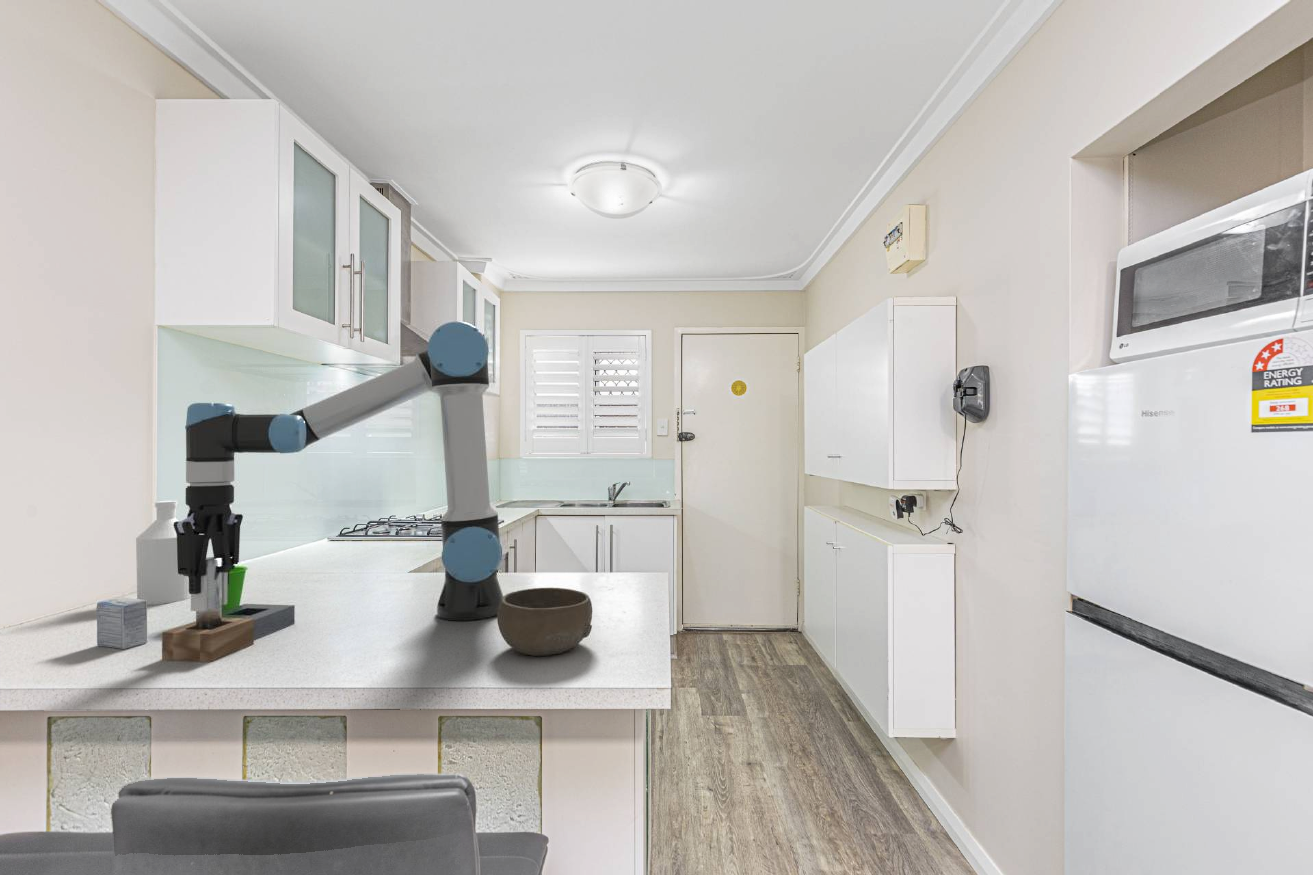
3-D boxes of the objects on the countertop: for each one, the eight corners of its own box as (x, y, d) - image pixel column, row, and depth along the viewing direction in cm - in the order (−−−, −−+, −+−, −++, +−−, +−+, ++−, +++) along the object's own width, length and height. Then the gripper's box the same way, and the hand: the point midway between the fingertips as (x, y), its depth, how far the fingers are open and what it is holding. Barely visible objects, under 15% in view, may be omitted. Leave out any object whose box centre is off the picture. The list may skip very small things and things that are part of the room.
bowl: (610, 647, 119) (609, 595, 119) (531, 671, 106) (531, 613, 107) (556, 629, 131) (556, 581, 131) (480, 649, 119) (480, 596, 119)
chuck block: (294, 623, 136) (294, 605, 136) (252, 640, 124) (252, 620, 124) (244, 621, 138) (244, 603, 138) (198, 638, 126) (198, 618, 126)
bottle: (204, 595, 162) (205, 500, 163) (152, 606, 151) (153, 504, 152) (177, 591, 167) (178, 498, 167) (125, 601, 156) (126, 502, 157)
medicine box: (148, 643, 123) (148, 599, 123) (122, 650, 119) (122, 604, 119) (121, 639, 126) (122, 596, 126) (95, 646, 122) (96, 601, 122)
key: (199, 633, 120) (199, 556, 120) (236, 635, 119) (236, 557, 119) (180, 640, 116) (181, 560, 117) (219, 641, 115) (219, 561, 116)
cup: (257, 613, 145) (257, 566, 145) (226, 624, 136) (226, 574, 136) (221, 612, 146) (221, 565, 146) (188, 623, 137) (188, 573, 137)
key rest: (253, 644, 122) (253, 618, 122) (211, 661, 112) (211, 633, 112) (208, 642, 123) (208, 617, 123) (162, 659, 113) (162, 632, 114)
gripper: (228, 481, 127) (227, 595, 127) (151, 486, 110) (150, 618, 110) (261, 481, 126) (261, 596, 126) (189, 487, 109) (188, 620, 109)
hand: (209, 606), depth 118 cm, fingers closed on key, 4 cm apart
